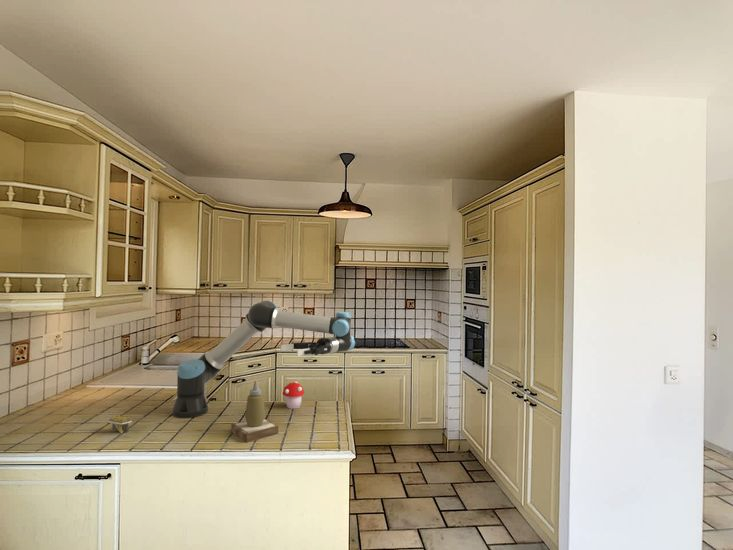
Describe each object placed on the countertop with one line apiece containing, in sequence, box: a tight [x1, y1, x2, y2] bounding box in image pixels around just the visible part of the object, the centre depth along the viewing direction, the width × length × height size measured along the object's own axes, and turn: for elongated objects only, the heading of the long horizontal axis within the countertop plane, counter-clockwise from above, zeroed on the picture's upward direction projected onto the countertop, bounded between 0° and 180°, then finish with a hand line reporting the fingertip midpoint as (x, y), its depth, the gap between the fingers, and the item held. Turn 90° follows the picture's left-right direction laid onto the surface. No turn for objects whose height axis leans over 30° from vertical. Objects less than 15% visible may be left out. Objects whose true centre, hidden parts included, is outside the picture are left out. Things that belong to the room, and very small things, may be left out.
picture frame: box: [230, 417, 279, 443], centre depth 170 cm, size 14×14×3 cm
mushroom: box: [281, 380, 305, 410], centre depth 204 cm, size 11×11×12 cm
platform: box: [108, 414, 132, 434], centre depth 167 cm, size 12×18×7 cm, turn 74°
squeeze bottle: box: [244, 380, 266, 427], centre depth 170 cm, size 8×8×18 cm
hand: (288, 350), depth 183 cm, fingers open, 13 cm apart
